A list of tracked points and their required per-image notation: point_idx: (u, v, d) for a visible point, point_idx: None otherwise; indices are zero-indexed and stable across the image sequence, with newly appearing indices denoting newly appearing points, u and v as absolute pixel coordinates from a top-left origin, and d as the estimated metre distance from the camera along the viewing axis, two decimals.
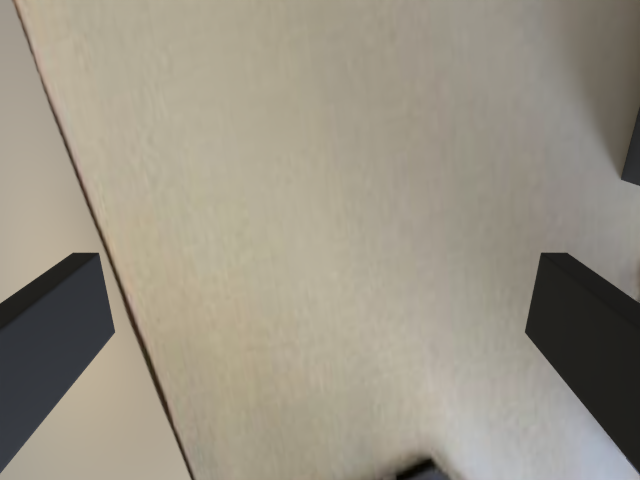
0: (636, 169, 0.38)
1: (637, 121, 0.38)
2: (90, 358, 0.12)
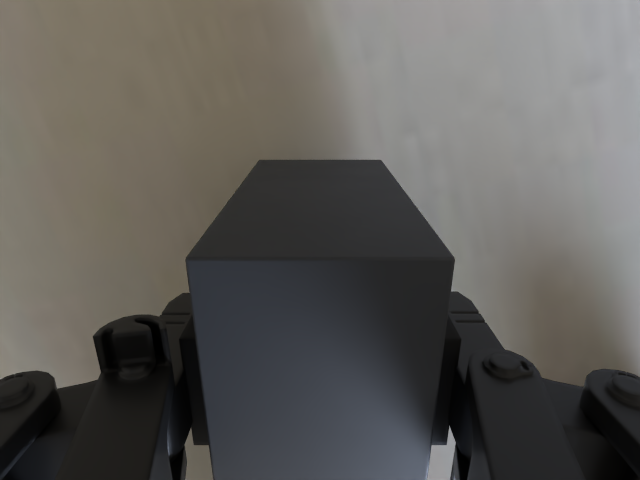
0: None
1: None
2: None
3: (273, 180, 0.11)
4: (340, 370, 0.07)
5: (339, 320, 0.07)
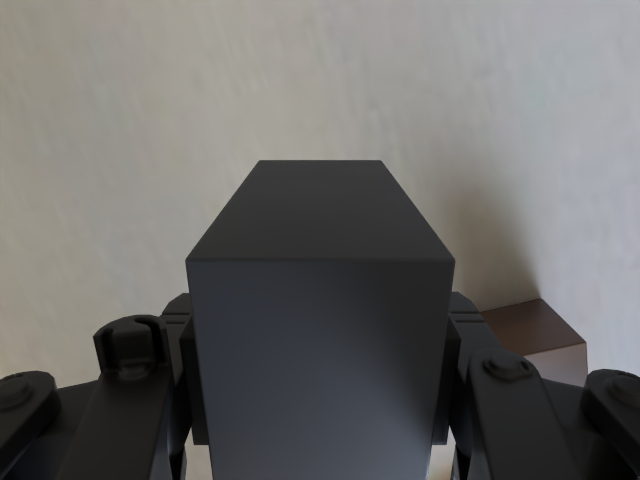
0: None
1: None
2: None
3: (273, 180, 0.11)
4: (340, 372, 0.07)
5: (339, 322, 0.07)
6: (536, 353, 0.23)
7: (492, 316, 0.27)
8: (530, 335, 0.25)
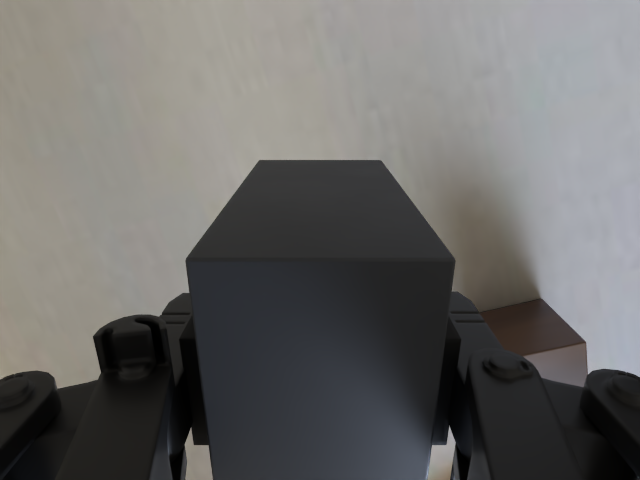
0: None
1: None
2: None
3: (273, 180, 0.11)
4: (340, 371, 0.07)
5: (339, 321, 0.07)
6: (536, 353, 0.23)
7: (492, 316, 0.27)
8: (530, 335, 0.25)
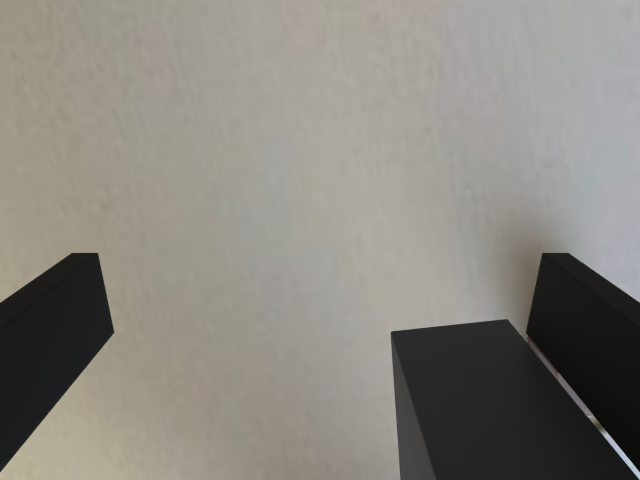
0: None
1: None
2: (89, 359, 0.12)
3: (437, 387, 0.12)
4: None
5: None
6: None
7: None
8: None
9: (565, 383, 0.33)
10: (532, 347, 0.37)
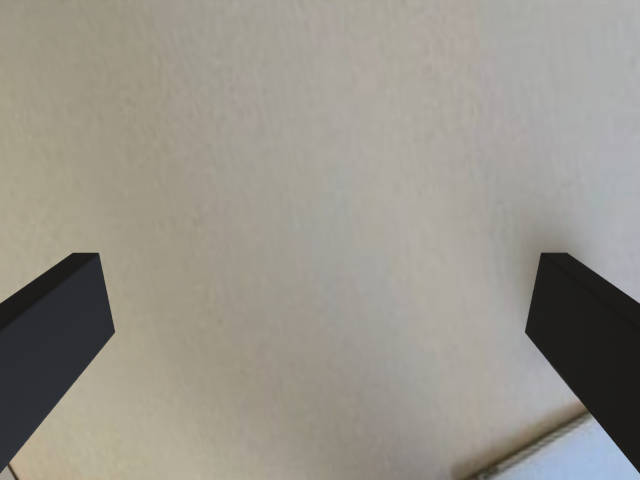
0: None
1: None
2: (90, 358, 0.12)
3: None
4: None
5: None
6: None
7: None
8: None
9: None
10: None
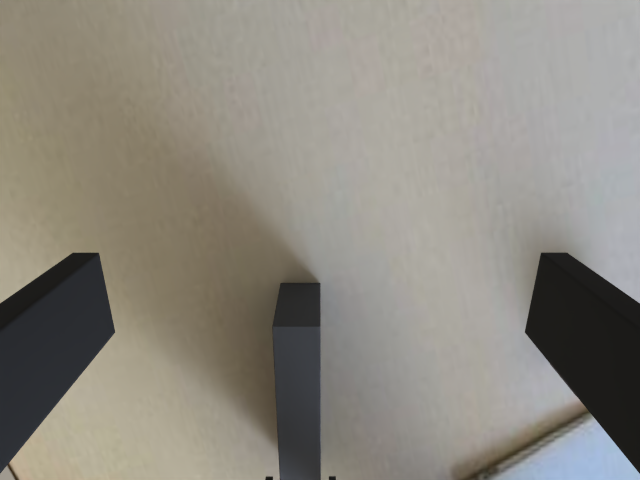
0: None
1: None
2: (90, 358, 0.12)
3: (286, 297, 0.40)
4: (300, 346, 0.36)
5: (300, 337, 0.35)
6: None
7: None
8: None
9: None
10: None
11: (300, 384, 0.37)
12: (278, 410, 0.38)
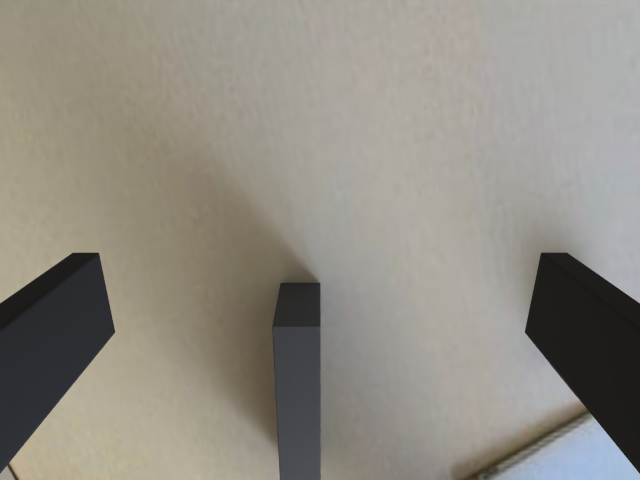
0: None
1: None
2: (90, 358, 0.12)
3: (286, 297, 0.40)
4: (300, 346, 0.36)
5: (300, 337, 0.35)
6: None
7: None
8: None
9: None
10: None
11: (300, 384, 0.37)
12: (278, 410, 0.38)
